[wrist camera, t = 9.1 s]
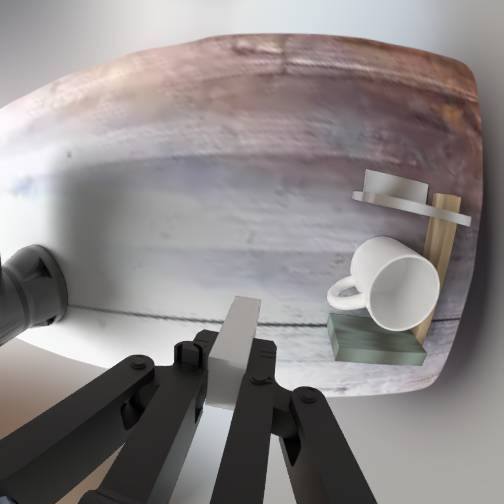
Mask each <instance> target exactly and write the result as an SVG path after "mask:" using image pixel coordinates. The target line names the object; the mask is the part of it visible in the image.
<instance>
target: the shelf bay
mask: <svg viewBox="0 0 504 504" xmlns="http://www.w3.org/2000/svg"><path fill="white" fill-rule="evenodd" d="M427 191H428V184H425V183H421V182H418V181H414V180H410V179H406V178H402V177H398V176H394V175H390V174H385V173H381V172H377V171H372V170H368V169H366V173H365V181H364V188H363V192H358V191H353V197H352V199H355V200H359V201H364V202H368V203H372V204H377V205H381V206H386V207H391V208H396V209H400V210H405V211H409V212H414V213H418V214H422V215H426V216H430V219H429V225H428V230H427V235H426V240H425V245H424V249H423V254H422V257H424V258H426V259H427V260H428V261H429V262H431V264H432V265H433V266H434V267H435V269H436V271H437V273H438V277H439V282H440V290H439V296H440V292H441V289H442V285H443V282H444V278H445V275H446V271H447V267H448V263H449V259H450V254H451V250H452V246H453V241H454V236H455V231H456V226H457V223H458V224H462V225H466V226H469V227H470V223H471V217H469V216H465V215H462V214H459V208H460V201H461V198H460V197H457V196H454V195H448V194H439V193H434V194H433V201H432V206H428V205H425V204H426V198H427ZM439 296H438V299H439ZM438 299H437V302H438ZM437 302H436V305H437ZM436 305H435V307H434V308H433V310H432V312H431V313H430V314H429V315H428V317H427V318H426V319H425V320H424V321H422V322H421V323H420V324H418V325H417V326H415V327H413V328H410V329H407V330H403V331H391V330H387V329H385V328H383V327H381V326H379V325H378V324H377V323H376V322H375V321H374V320H373V318H365V317H357V316H348V315H340V314H332V313H329V318H328V322H327V328H328V332H329V336H330V341H331V345H332V349H333V353H334V358H335V361H344V362H356V363H369V364H387V365H413V366H422V364H423V362H424V360H425V357H426V355H427V352H426V351H425V350H424V348H423V347H422V345H423V342H424V340H425V337H426V334H427V332H428V329H429V326H430V323H431V320H432V317H433V314H434V311H435V308H436Z"/></svg>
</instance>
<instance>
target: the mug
mask: <svg viewBox="0 0 504 504" xmlns="http://www.w3.org/2000/svg"><path fill="white" fill-rule="evenodd" d="M350 270H351V276H348V277H346V278H343V279H341V280H339V281H338V282H336V283H335V284H334V285H333V286H332V287H331V288H330V289H329V291H328V294H327V300H328V302H329V304H330V305H331V306H333V307H334V308H336V309H340V310H354V309H360V308H364V307H367V309H368V311H369V313H370V315H371V317H372V318H373V320H374V321H375V322H376V323H377V324H378V325H379V326H381V327H383V328H385V329H387V330H391V331H403V330H407V329H410V328H413V327H415V326H417V325H418V324H420V323H421V322H422V321H424V320H425V319H426V318H427V317H428V315H429V314H430V313H431V312H432V310H433V308H434V307H435V305H436V302H437V299H438V296H439V290H440V282H439V277H438V273H437V271H436V269H435V267H434V266H433V265H432V264H431V262H429V261H428V260H427V259H426V258H424V257H422V256H421V255H419V254H418V253H416V252H415V251H413V250H412V249H410V248H408V247H407V246H405V245H404V244H402V243H400V242H399V241H397V240H395V239H393V238H390V237H384V236H379V237H374V238H371V239H369V240H367V241H365V242H364V243H363V244H362V245H360V246H359V248H358V249H357V250H356V252H355V253H354V256H353V258H352V261H351V268H350ZM351 287H356V289H357V291H358V293H359V294H357V295H353V296H349V297H340V296H338V295H339V294H340V293H341V292H342V291H344V290H346V289H349V288H351Z"/></svg>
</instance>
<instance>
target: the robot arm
mask: <svg viewBox="0 0 504 504" xmlns="http://www.w3.org/2000/svg"><path fill="white" fill-rule="evenodd" d="M260 304H261V300H258V299H252V298H246V297H240V296H236V297H235V299H234V301H233V303H232V305H231V308H230V310H229V312H228V314H227V316H226V319H225V321H224V323H223V325H222V328H221V330H220V332H214V331H209V330H202V331H201V332H199V333H197V335H196V337H195V338H194V340H193V341H182V342H179V343H177V344H176V345H175V346H174V363H173V365H171V366H154V361H153V360H152V359H151V358H149V357H148V356H145V355H131V356H129V357H127V358H125V359H124V360H122V361H121V362H119V363H118V364H116V365H115V366H113V367H112V368H110V369H109V370H107V371H106V372H105V373H103V374H102V375H100V376H98V377H97V378H95V379H94V380H93V381H91V382H89V383H88V384H86V385H85V386H83V387H82V388H80V389H79V390H77V391H76V392H74V393H73V394H71V395H70V396H68V397H67V398H65V399H64V400H62V401H60V402H59V403H57V404H56V405H54V406H53V407H51V408H50V409H48V410H47V411H45V412H44V413H42V414H40V415H39V416H37V417H36V418H34V419H33V420H31V421H30V422H28V423H27V424H25V425H23V426H22V427H20V428H19V429H17V430H15V431H14V432H12V433H11V434H9V435H8V436H6V437H4V438H3V439H1V440H0V504H55V503H56V502H58V501H59V500H60V499H61V498H62V497H64V496H65V495H66V494H67V493H68V492H70V491H71V490H72V489H73V488H74V487H75V486H77V485H78V484H79V483H80V482H81V481H82V480H84V479H85V478H86V477H87V476H88V475H89V474H91V473H92V472H93V471H94V470H95V469H96V468H97V467H98V466H100V465H101V464H102V463H103V462H104V461H105V460H106V459H107V458H109V457H110V456H111V455H112V454H113V453H114V452H115V451H116V450H117V449H118V448H119V447H121V446H122V445H123V444H124V443H125V444H124V446H123V448H122V449H121V451H120V452H119V454H118V456H117V457H116V459H115V461H114V463H113V464H112V466H111V468H110V469H109V471H108V473H107V474H106V476H105V478H104V479H103V481H102V483H101V484H100V486H99V487H98V488H97V489H96V490H89V491H88V492H86V493H85V494H84V495H83V496H82V498H81V499H80V501H79V502H78V504H168V503H169V501H170V498H171V495H172V493H173V490H174V487H175V485H176V482H177V480H178V477H179V474H180V472H181V469H182V466H183V464H184V461H185V458H186V456H187V453H188V450H189V448H190V445H191V442H192V440H193V437H194V434H195V432H196V429H197V426H198V424H199V421H200V418H201V415H202V413H203V404H204V401H206V402H205V405H209V406H214V407H218V408H223V409H228V410H233V411H234V413H233V417H232V421H231V425H230V429H229V433H228V437H227V441H226V445H225V448H224V452H223V456H222V460H221V463H220V467H219V471H218V475H217V478H216V483H215V486H214V490H213V493H212V497H211V500H210V504H263V498H264V490H265V481H266V473H267V464H268V455H269V446H270V435H271V433H272V434H274V435H277V436H279V442H280V445H281V449H282V453H283V456H284V460H285V464H286V467H287V471H288V475H289V478H290V482H291V485H292V489H293V493H294V495H295V500H296V503H297V504H377V502H376V500H375V498H374V496H373V494H372V492H371V490H370V487H369V486H368V483H367V481H366V480H365V477H364V475H363V473H362V471H361V469H360V467H359V465H358V463H357V461H356V459H355V457H354V455H353V453H352V451H351V449H350V447H349V445H348V443H347V441H346V439H345V437H344V435H343V433H342V431H341V429H340V427H339V425H338V423H337V421H336V419H335V417H334V415H333V413H332V411H331V409H330V407H329V405H328V403H327V401H326V399H325V396H324V395H323V394H322V392H320V391H319V390H317V389H315V388H312V387H306V386H303V387H298V388H296V389H294V390H293V391H290V390H287V389H285V388H283V387H281V386H280V385H278V383H277V382H276V381H275V377H274V376H275V363H276V350H277V347H276V345H275V343H274V342H273V341H269V340H263V339H257V338H255V335H256V329H257V323H258V317H259V310H260ZM66 308H67V289H66V284H65V281H64V278H63V275H62V272H61V270H60V268H59V266H58V264H57V263H56V261H55V259H54V258H53V257H52V256H51V254H50V253H49V252H48V251H47V250H45V249H44V248H42V247H40V246H38V245H30V246H27V247H24V248H22V249H20V250H18V251H17V252H16V253H15V254H14V255H13V256H12V257H11V258H10V259H9V260H8V261H7V262H5V263H4V264H3V265H2V266H1V257H0V347H1V346H2V345H4V344H5V343H7V342H8V341H10V340H11V339H13V338H14V337H16V336H17V335H19V334H20V333H22V332H23V331H25V330H26V329H29V328H36V327H43V326H49V325H52V324H54V323H55V322H57V321H58V320H60V319H61V318H62V317H63V316H64V314H65V312H66ZM205 398H206V400H205Z"/></svg>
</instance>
